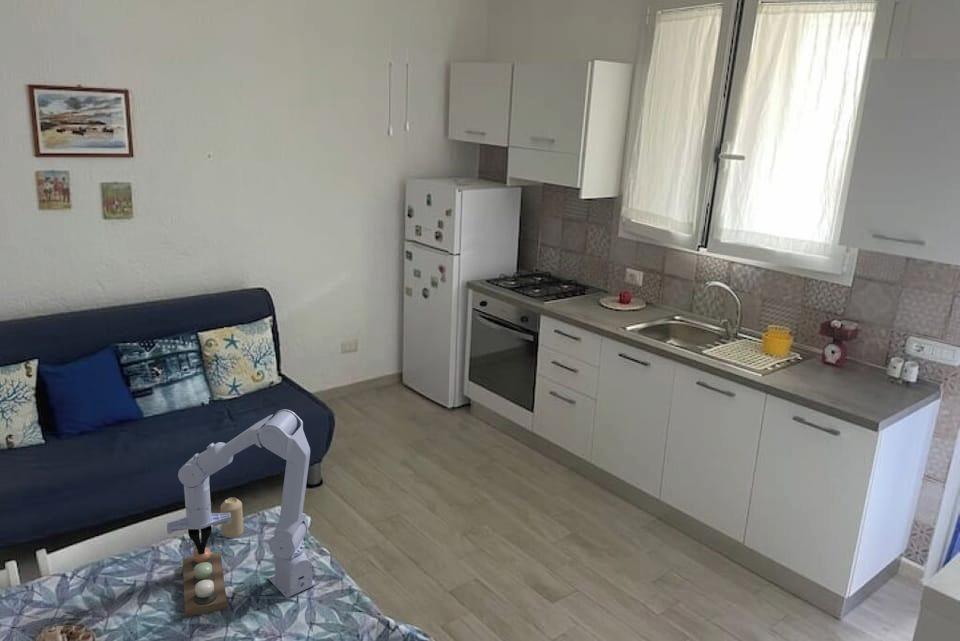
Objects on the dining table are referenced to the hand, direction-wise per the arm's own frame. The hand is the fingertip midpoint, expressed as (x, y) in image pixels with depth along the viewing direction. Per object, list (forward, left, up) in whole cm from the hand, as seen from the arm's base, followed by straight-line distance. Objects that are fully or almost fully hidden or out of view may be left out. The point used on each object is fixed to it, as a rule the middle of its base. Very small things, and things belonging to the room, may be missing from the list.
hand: (201, 551), depth 178 cm
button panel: (-7, +2, -5) cm, 9 cm away
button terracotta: (0, 0, -2) cm, 2 cm away
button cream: (-13, +5, -1) cm, 14 cm away
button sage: (-7, +2, -1) cm, 7 cm away
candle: (+10, -13, -5) cm, 17 cm away
